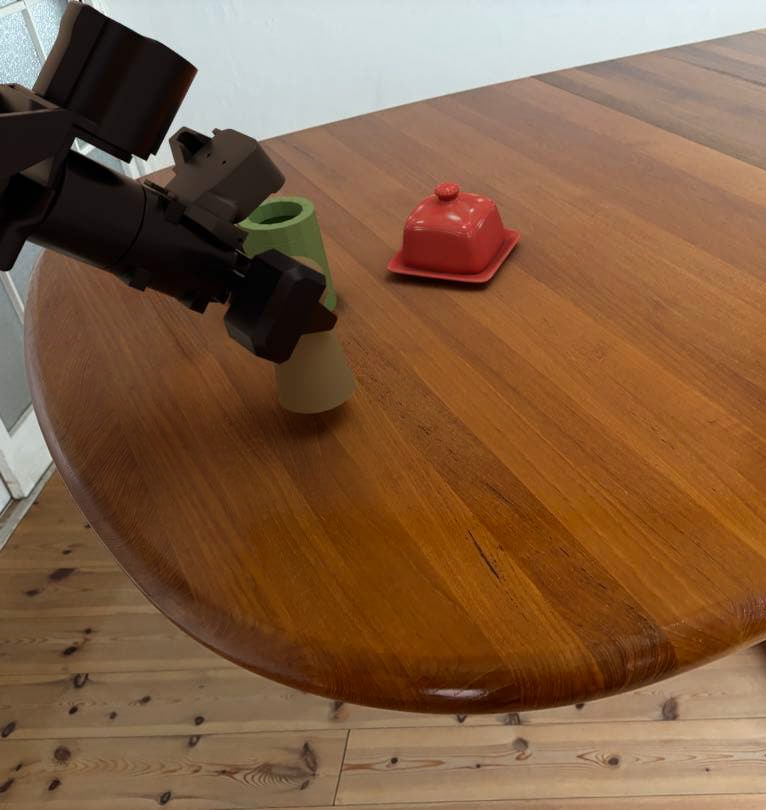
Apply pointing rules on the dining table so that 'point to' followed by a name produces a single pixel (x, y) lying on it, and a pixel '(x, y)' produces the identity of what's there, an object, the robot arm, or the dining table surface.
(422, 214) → the butter dish
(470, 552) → the dining table surface
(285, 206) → the green cylindrical container
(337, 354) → the tan peg doll
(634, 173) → the dining table surface
